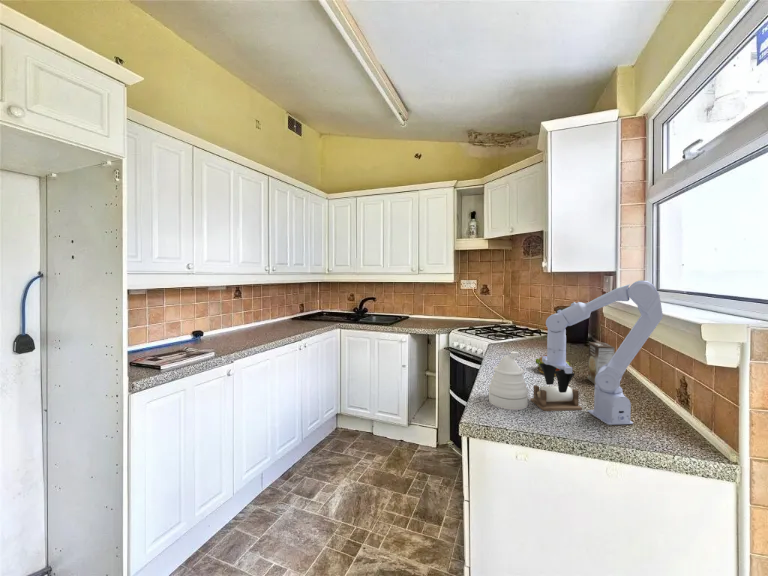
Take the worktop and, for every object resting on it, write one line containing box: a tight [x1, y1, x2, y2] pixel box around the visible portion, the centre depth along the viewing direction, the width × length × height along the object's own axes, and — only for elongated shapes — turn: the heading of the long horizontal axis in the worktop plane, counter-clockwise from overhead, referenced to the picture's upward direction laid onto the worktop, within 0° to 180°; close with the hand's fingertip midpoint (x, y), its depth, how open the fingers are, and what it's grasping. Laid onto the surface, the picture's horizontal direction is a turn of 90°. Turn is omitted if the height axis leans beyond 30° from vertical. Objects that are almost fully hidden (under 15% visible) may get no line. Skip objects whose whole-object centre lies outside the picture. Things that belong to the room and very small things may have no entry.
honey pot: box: [488, 351, 529, 411], centre depth 115 cm, size 13×13×18 cm
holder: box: [529, 384, 583, 412], centre depth 112 cm, size 9×13×6 cm
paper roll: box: [537, 385, 573, 402], centre depth 112 cm, size 5×12×5 cm, turn 94°
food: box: [535, 354, 572, 377], centre depth 148 cm, size 14×14×8 cm
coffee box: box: [587, 341, 616, 386], centre depth 134 cm, size 9×6×16 cm
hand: (555, 388), depth 112 cm, fingers open, 7 cm apart
